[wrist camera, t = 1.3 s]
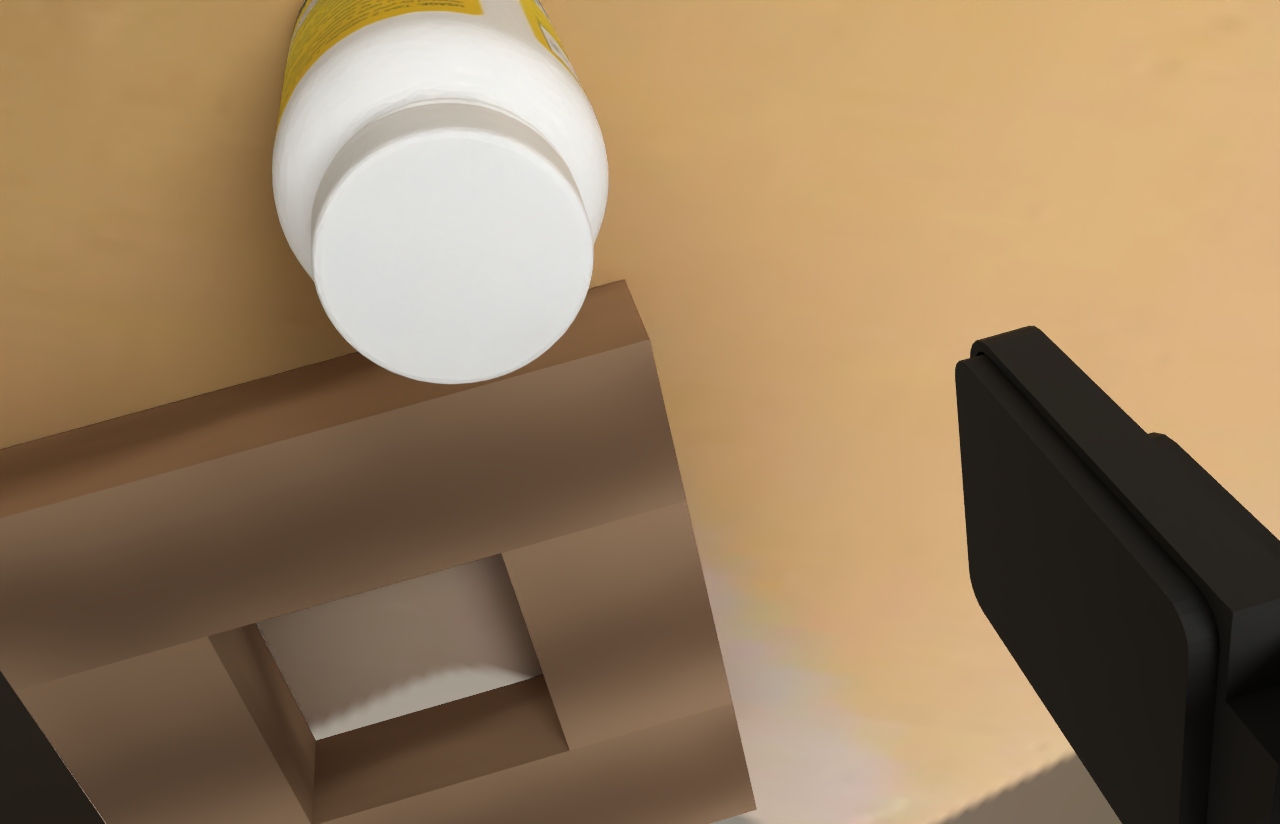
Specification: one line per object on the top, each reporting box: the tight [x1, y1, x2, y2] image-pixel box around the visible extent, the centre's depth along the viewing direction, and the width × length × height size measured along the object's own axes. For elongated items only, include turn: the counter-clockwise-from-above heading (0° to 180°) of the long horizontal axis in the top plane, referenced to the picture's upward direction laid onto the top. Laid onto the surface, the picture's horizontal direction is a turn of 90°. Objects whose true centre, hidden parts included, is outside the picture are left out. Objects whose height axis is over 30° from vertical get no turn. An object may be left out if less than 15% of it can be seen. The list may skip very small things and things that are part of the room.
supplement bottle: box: [272, 0, 609, 384], centre depth 21 cm, size 5×5×10 cm
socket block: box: [0, 280, 756, 824], centre depth 31 cm, size 16×16×3 cm
